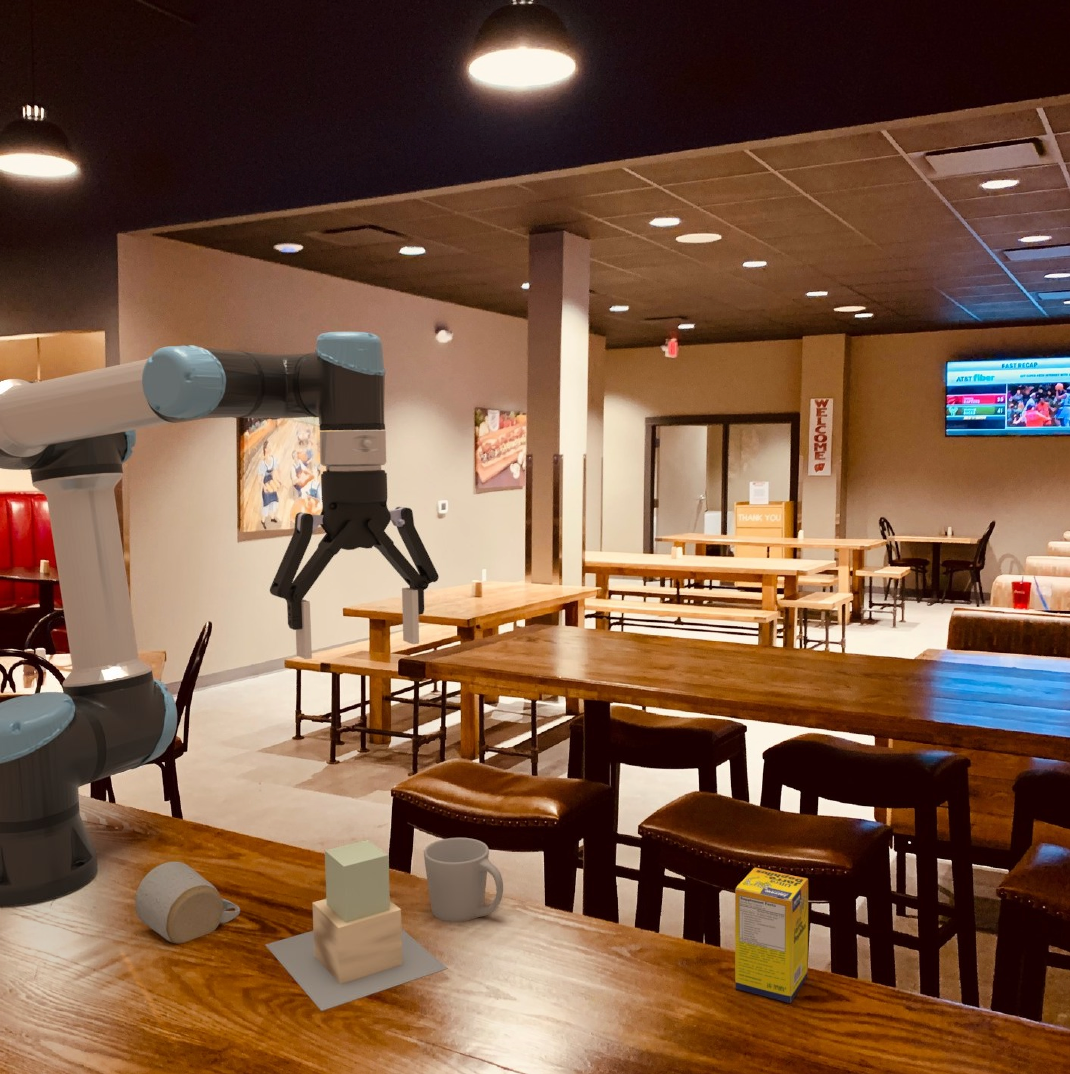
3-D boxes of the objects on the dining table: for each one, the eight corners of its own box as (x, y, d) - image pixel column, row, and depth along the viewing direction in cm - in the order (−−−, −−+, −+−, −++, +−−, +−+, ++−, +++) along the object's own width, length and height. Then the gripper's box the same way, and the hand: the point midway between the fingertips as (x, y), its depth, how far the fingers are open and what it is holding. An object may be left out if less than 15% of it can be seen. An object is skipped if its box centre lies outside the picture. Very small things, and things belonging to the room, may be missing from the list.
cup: (450, 899, 128) (448, 832, 127) (519, 918, 123) (518, 848, 122) (412, 925, 121) (410, 855, 121) (483, 946, 116) (482, 872, 115)
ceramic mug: (168, 960, 114) (166, 892, 113) (134, 935, 120) (132, 871, 119) (254, 928, 122) (253, 864, 121) (218, 906, 127) (217, 845, 127)
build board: (265, 955, 115) (265, 944, 115) (381, 920, 123) (381, 910, 123) (321, 1022, 102) (321, 1010, 102) (447, 979, 109) (447, 968, 109)
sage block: (326, 904, 111) (324, 850, 110) (369, 892, 114) (368, 839, 113) (345, 923, 107) (343, 866, 106) (390, 910, 110) (388, 855, 109)
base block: (314, 956, 112) (312, 902, 112) (374, 937, 116) (372, 886, 115) (340, 984, 106) (338, 927, 106) (402, 964, 110) (401, 909, 110)
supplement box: (808, 978, 109) (809, 877, 108) (791, 1005, 104) (792, 900, 103) (753, 963, 112) (754, 865, 111) (733, 989, 107) (734, 887, 106)
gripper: (259, 473, 111) (267, 669, 113) (463, 465, 124) (467, 641, 126) (236, 471, 117) (244, 657, 119) (433, 464, 130) (437, 631, 133)
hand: (359, 649), depth 123 cm, fingers open, 13 cm apart
